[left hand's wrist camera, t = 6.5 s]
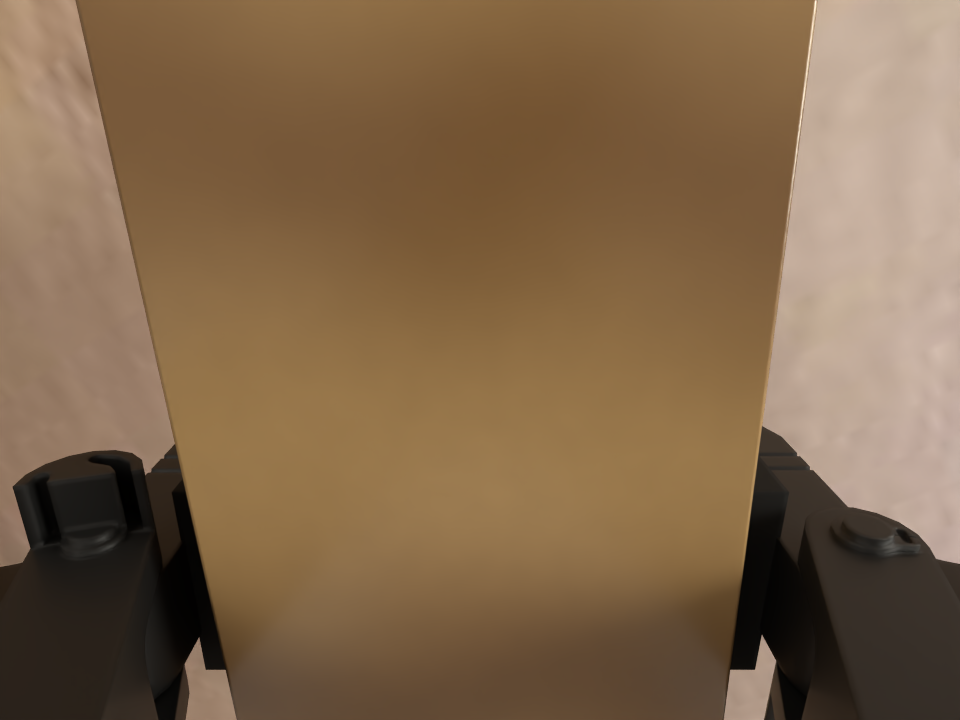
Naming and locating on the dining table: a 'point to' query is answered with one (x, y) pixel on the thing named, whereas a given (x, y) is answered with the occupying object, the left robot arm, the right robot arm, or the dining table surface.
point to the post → (462, 335)
